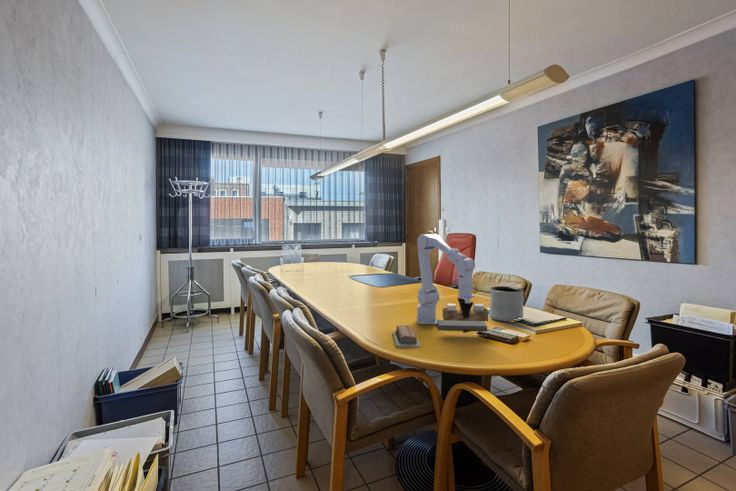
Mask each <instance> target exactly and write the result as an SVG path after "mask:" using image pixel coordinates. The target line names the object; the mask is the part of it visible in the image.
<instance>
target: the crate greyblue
mask: <svg viewBox="0 0 736 491" xmlns="http://www.w3.org/2000/svg"><path fill="white" fill-rule="evenodd" d="M473 308H474V310H475V311H484V308H485V306H484V304H483V303H473Z"/></svg>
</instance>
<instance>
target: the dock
mask: <svg viewBox="0 0 736 491" xmlns="http://www.w3.org/2000/svg"><path fill="white" fill-rule="evenodd" d="M436 321H437V324H436V326H437V329H438V330H443V331H445V330H448V331H449V330H452V331H453V330H454V331H456V330H457V331H459V330H460V331H487V330H488V325H487V323H486V322H485V321H450V320H444V319H443V318H442V319H441V318H440V319H438V318H436ZM486 329H487V330H486Z"/></svg>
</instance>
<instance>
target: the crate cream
mask: <svg viewBox="0 0 736 491" xmlns="http://www.w3.org/2000/svg"><path fill="white" fill-rule="evenodd" d="M446 308H447V311H456V310H457V305H456V303H446Z"/></svg>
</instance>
